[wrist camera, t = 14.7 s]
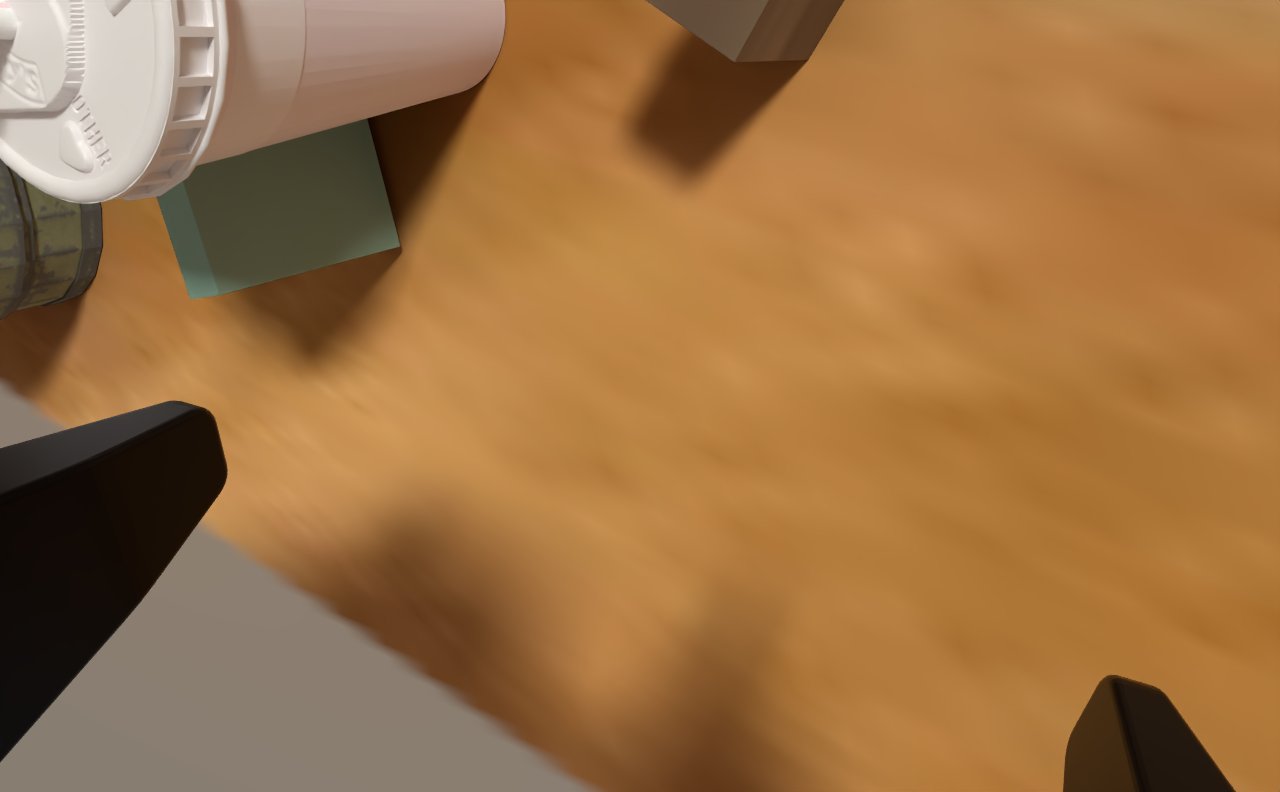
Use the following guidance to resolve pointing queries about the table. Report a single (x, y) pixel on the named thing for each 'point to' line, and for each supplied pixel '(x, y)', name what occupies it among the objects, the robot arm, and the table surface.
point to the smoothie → (214, 80)
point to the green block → (279, 211)
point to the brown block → (755, 25)
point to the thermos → (44, 245)
